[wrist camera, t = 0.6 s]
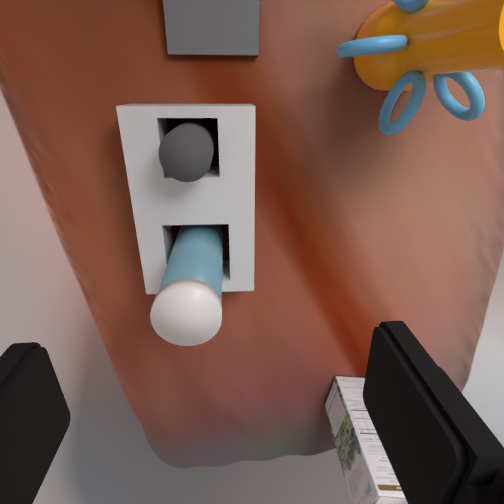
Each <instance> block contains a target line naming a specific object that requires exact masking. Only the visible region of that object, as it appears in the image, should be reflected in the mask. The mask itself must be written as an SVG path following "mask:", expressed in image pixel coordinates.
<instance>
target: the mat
mask: <svg viewBox="0 0 504 504" xmlns="http://www.w3.org/2000/svg"><path fill="white" fill-rule="evenodd" d="M163 8H164V18H165V29H166V40H167V51H168V54H169V55H236V56H258V55H259V0H163Z"/></svg>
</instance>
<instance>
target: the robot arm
mask: <svg viewBox="0 0 504 504" xmlns="http://www.w3.org/2000/svg"><path fill="white" fill-rule="evenodd" d="M363 401H364V405H365V407H366V409H367V412H368V414H369V416H370V418H371V421H372V423H373V425H374V428H375V430H376V432H377V434H378V437H379V439H380V441H381V443H382V446H383V448H384V450H385V452H386V455H387V457H388V459H389V462H390V464H391V466H392V468H393V471H394V473H395V475H396V477H397V480H398V482H399V484H400V487H401V489H402V491H403V493H404V496H405V498H406V500H407V502H408V504H504V448H503V446H502V445H501V443H500V442H499V441H498V440H497V438H496V437H495V436H494V434H493V433H492V432H491V431H490V429H489V428H488V427H487V425H486V424H485V423H484V422H483V420H482V419H481V418H480V417H479V415H478V414H477V413H476V411H475V410H474V409H473V407H472V406H471V405H470V404H469V402H468V401H467V400H466V398H465V397H464V396H463V395H462V393H461V392H460V391H459V389H458V388H457V387H456V386H455V384H454V383H453V382H452V380H451V379H450V378H449V377H448V375H447V374H446V373H445V372H444V371H443V370H442V369H441V368H440V367H438V366H437V365H436V363H435V362H434V361H433V359H432V358H431V357H430V356H429V354H428V353H427V352H426V350H425V349H424V348H423V346H422V345H421V344H420V343H419V341H418V340H417V339H416V337H415V336H414V335H413V333H412V332H411V331H410V330H409V328H408V327H407V326H406V324H405V323H404V322H403V321H386V322H381V323H380V324H379V327H375V328H374V331H373V336H372V342H371V347H370V353H369V359H368V364H367V370H366V376H365V382H364V387H363ZM69 424H70V411H69V409H68V406H67V403H66V401H65V398H64V395H63V393H62V390H61V387H60V385H59V382H58V379H57V376H56V374H55V371H54V368H53V366H52V363H51V361H50V358H49V355H48V352H47V350H46V349H45V348H44V347H41V346H40V344H38V343H35V342H32V343H16V344H12V345H11V346H9V348H8V349H7V350H6V351H5V352H4V353H3V354H2V356H1V357H0V504H32V503H33V501H34V499H35V497H36V495H37V493H38V490H39V488H40V486H41V484H42V482H43V480H44V478H45V475H46V474H47V471H48V469H49V467H50V465H51V463H52V461H53V459H54V457H55V454H56V452H57V450H58V448H59V446H60V444H61V442H62V440H63V438H64V435H65V433H66V431H67V429H68V426H69Z"/></svg>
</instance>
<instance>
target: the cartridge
mask: <svg viewBox="0 0 504 504" xmlns="http://www.w3.org/2000/svg"><path fill="white" fill-rule="evenodd" d="M222 264H223V231H222V228H221V227H220V225H219V224H206V225H181V226H180V229H179V232H178V235H177V237H176V240H175V243H174V246H173V249H172V252H171V255H170V258H169V261H168V264H167V267H166V270H165V273H164V276H163V279H162V282H161V285H160V288H159V290H158V293H157V295H156V297H155V300H154V303H153V306H152V309H151V312H150V320H151V324H152V327H153V328H154V330H155V331H156V333H157V334H158V335H159V336H160V337H161V338H163V339H164V340H166V341H168V342H170V343H173V344H176V345H180V346H194V345H199V344H202V343H204V342H206V341H208V340H210V339H211V338H212V337H213V336H215V335H216V333H217V332H218V330H219V329H220V326H221V322H222Z"/></svg>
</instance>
